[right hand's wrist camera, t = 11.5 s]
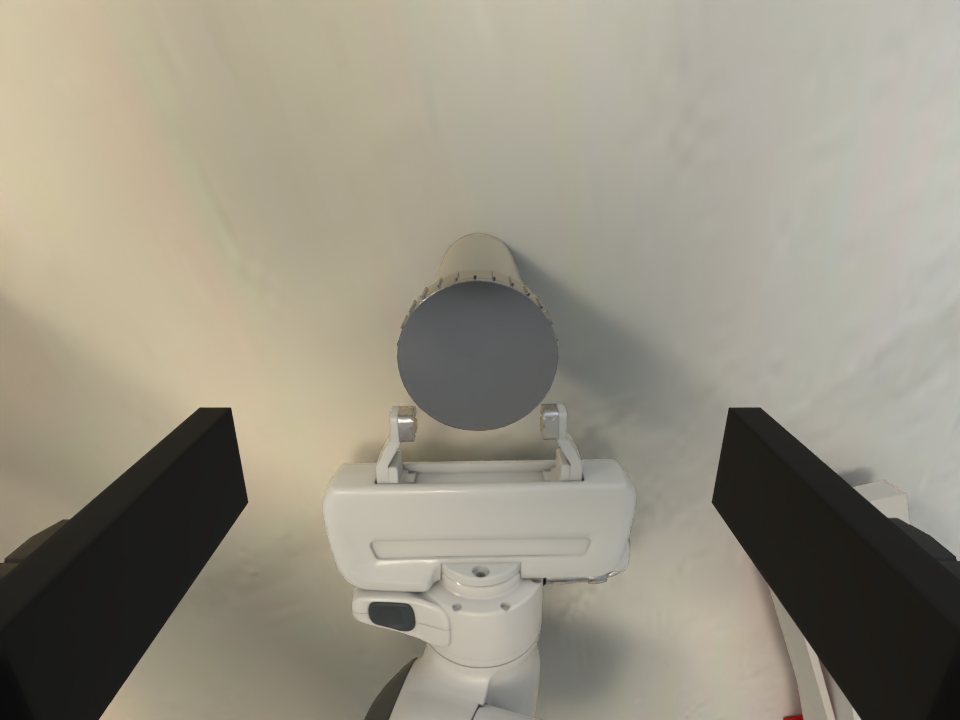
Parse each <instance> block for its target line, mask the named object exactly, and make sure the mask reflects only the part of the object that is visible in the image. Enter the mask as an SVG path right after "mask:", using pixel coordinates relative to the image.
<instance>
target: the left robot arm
mask: <svg viewBox="0 0 960 720" xmlns="http://www.w3.org/2000/svg"><path fill="white" fill-rule="evenodd" d="M540 411H541V417H540V428H541V431H542V437H543V439H556V441H557V443H558V444H559V446H560V448H558V449H556V460H504V461H436V462H403V460H402V452H401V451H400V450H397V449H398V448H399V446H400V444H401V442H409V441H414V440H415V433H416V432H417V419H416V418H415V417H416V406H393V407H392V409H391V412H390V421H389V422H390V436H389V437H388V439H387V441H386V443H385V445H384V446H383V448H382V450H381V452H380V455H379V458H378V461H377V462H370V463H345V464H343V465H341V466H340V467H339V469H338V470H337V471H336V472H335V473H334V475H333V476H332V478H331V479H330V481H329V483H328V485H327V488H326V490H325V493H324V496H323V503H322V507H323V515H324V521H325V526H326V531H327V536H328V540H329V543H330V547H331V551H332V554H333V557H334V560H335V563H336V566H337V568H338V570H339V572H340V573H341V575H342V576H343V577H344V579H345V580H346V581H348V582H349V583H350V584H352V585H353V586H354V590H353V598H352V613H353V616H354V618H355V619H356V620H358V621H359V622H362V623H365V624H368V625H372V626H377V627H381V628H385V629H389V630H393V631H397V632H400V633H404V634H407V635H410V636H413V637H415V638H418V639H421V640H423V641H425V642H426V647H425V651H424V654H423V656H422V657H421V658H419V659H418V658H415V659H413V660H412V661H410V662H409V663H408V664H407V665H405V666H404V667H403V668H402V669H401V670H400V671H399V672H398V673H397V674H396V675H395V676H394V677H393V678H392V680H391V681H390V682H389V683H388V684H387V685H386V686H385V687H384V688H383V689H382V691H381V692H380V693H379V695H378V696H377V698H376V699H375V701H374V702H373V704H372V706H371V708H370V709H369V711H368V713H367V715H366V717H365V719H364V720H541V719H537V718H535V713H536V708H537V701H538V693H539V682H540V655H539V650H538V646H537V642H538V639H539V636H540V632H541V626H542V604H543V586H544V584H570V583H577V582H588V583H591V584H598V583H603V582H606V581H607V577H612V576H614V575H617V574H618V573H620V572H622V571H624V570H625V569H626V568H627V566H628V562H629V552H630V540H629V535H630V531H631V528H632V524H633V519H634V514H635V509H636V502H637V495H636V491H635V488H634V485H633V483H632V480H631V478H630V477H629V475H628V473H627V472H626V471H625V469H624V468H623V467H622V466H621V465H620V464H619V463H618V462H617V461H616V460H614V459H581V458H580V455H579V452H578V449H577V447H576V445H575V443H574V442H573V440H572V439H571V437H570V435H569V434H568V432H567V411H566V408H565V405H564V404H541V408H540Z"/></svg>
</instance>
